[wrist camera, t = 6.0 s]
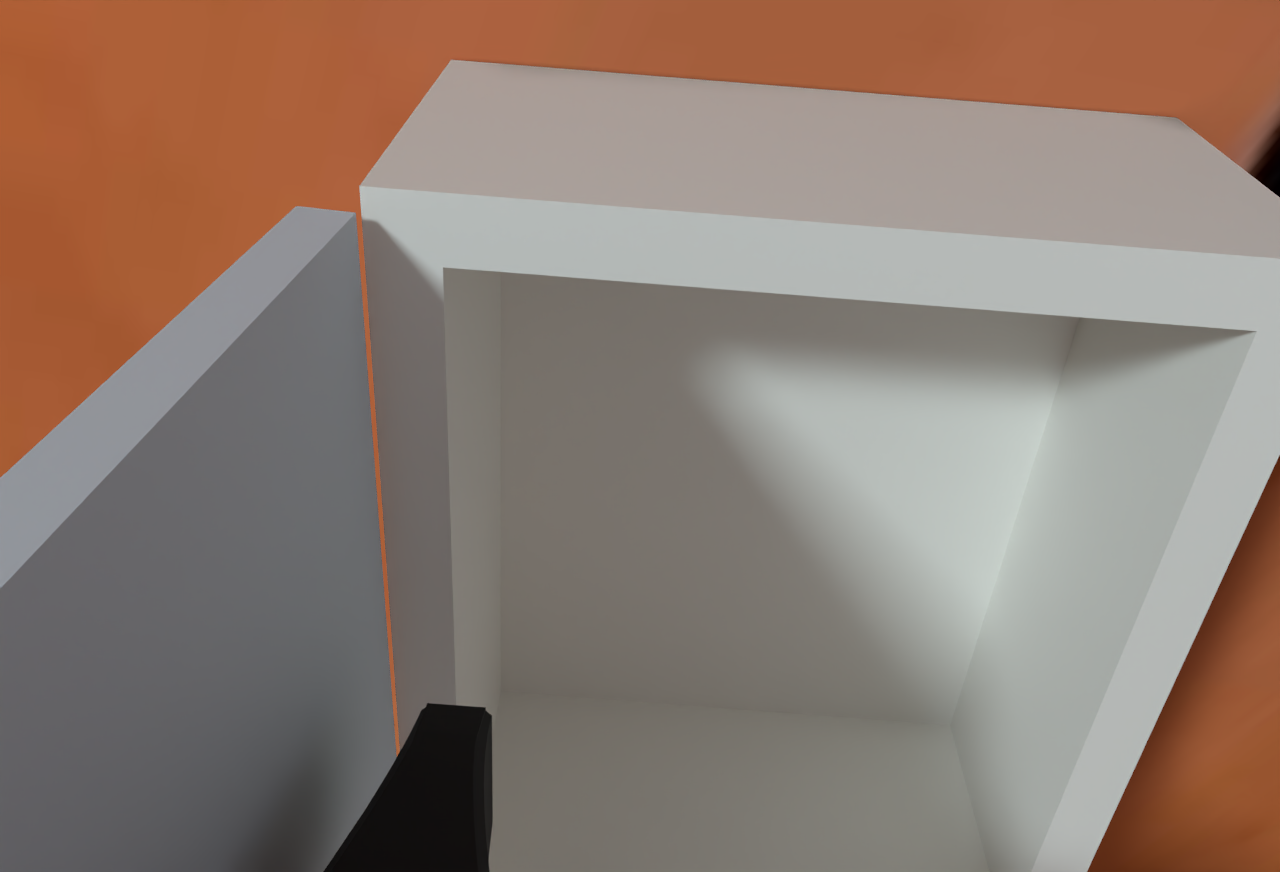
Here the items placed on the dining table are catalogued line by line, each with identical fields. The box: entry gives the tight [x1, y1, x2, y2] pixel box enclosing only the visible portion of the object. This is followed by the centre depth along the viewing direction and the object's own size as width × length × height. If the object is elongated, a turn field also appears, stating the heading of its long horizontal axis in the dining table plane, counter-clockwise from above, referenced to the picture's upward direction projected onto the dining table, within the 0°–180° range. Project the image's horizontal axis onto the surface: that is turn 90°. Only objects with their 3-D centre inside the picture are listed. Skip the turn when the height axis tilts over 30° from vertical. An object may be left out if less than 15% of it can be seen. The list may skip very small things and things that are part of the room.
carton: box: [359, 60, 1280, 872], centre depth 16 cm, size 10×12×5 cm
